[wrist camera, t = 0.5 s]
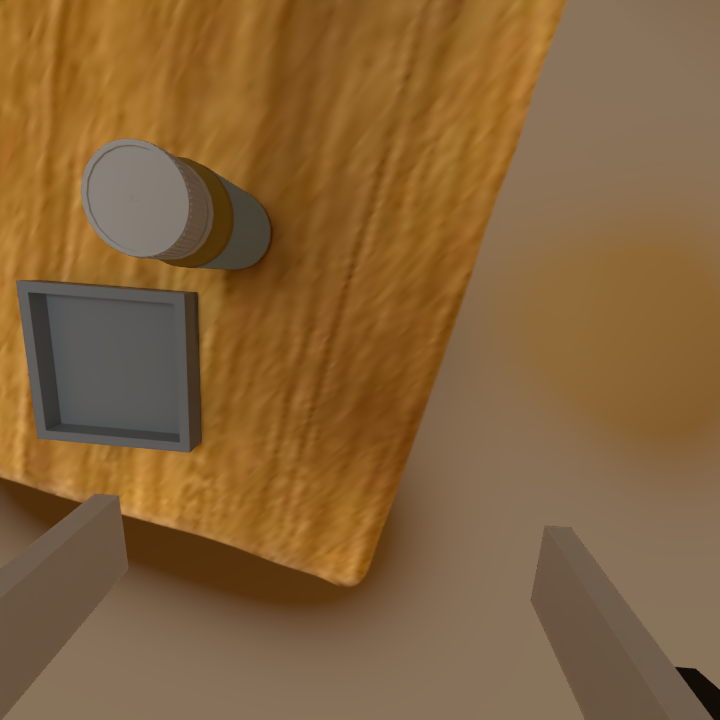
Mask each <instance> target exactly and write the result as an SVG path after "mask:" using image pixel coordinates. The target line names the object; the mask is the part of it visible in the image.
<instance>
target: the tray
mask: <svg viewBox="0 0 720 720" xmlns="http://www.w3.org/2000/svg"><path fill="white" fill-rule="evenodd" d="M16 284H17V291H18V298H19V306H20V313H21V320H22V327H23V335H24V342H25V349H26V357H27V364H28V371H29V379H30V386H31V393H32V401H33V408H34V415H35V423H36V430H37V437H38V439H48V440H59V441H70V442H81V443H92V444H102V445H113V446H124V447H135V448H146V449H157V450H168V451H179V452H191V451H192V450H193V449H194V448H195V447H196V446H197V445H198V444H199V443H200V442H201V413H200V376H199V339H198V303H197V292H185V291H172V290H159V289H146V288H133V287H121V286H108V285H95V284H82V283H69V282H56V281H44V280H20V281H16Z"/></svg>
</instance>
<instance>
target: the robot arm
mask: <svg viewBox="0 0 720 720" xmlns="http://www.w3.org/2000/svg"><path fill="white" fill-rule="evenodd" d="M127 570H128V562H127V555H126V547H125V539H124V532H123V525H122V517H121V509H120V502H119V496H118V495H104V494H94V495H93V496H92V497H90V498H89V499H88V500H87V501H85V502H84V503H83V504H82V505H80V506H79V507H78V508H76V509H75V510H74V511H73V512H72V513H70V514H69V515H68V516H66V517H65V518H64V519H63V520H61V521H60V522H59V523H58V524H56V525H55V526H54V527H52V528H51V529H50V530H49V531H47V532H46V533H45V534H44V535H42V536H41V537H40V538H39V539H37V540H36V541H35V542H34V543H32V544H31V545H30V546H28V547H27V548H26V549H25V550H23V551H22V552H21V553H20V554H18V555H17V556H16V557H14V558H13V559H12V560H11V561H9V562H8V563H7V564H6V565H4V566H3V567H2V568H1V569H0V720H2V719H3V718H4V717H5V715H6V714H7V713H8V712H9V711H10V709H11V708H12V707H13V706H14V705H15V703H16V702H17V701H18V700H19V699H20V697H21V696H22V695H23V694H24V693H25V691H26V690H27V689H28V688H29V687H30V685H31V684H32V683H33V682H34V681H35V680H36V678H37V677H38V676H39V675H40V673H41V672H42V671H43V670H44V669H45V668H46V666H47V665H48V664H49V663H50V662H51V660H52V659H53V658H54V657H55V656H56V654H57V653H58V652H59V651H60V650H61V648H62V647H63V646H64V645H65V644H66V642H67V641H68V640H69V639H70V638H71V637H72V635H73V634H74V633H75V632H76V631H77V629H78V628H79V627H80V626H81V625H82V623H83V622H84V621H85V620H86V619H87V617H88V616H89V614H91V613H92V611H93V610H94V609H95V608H96V607H97V606H98V604H99V603H100V602H101V601H102V599H103V598H104V597H105V596H106V595H107V594H108V592H109V591H110V590H111V589H112V587H113V586H114V585H115V584H116V583H117V582H118V580H119V579H120V578H121V577H122V576H123V574H124V573H125V572H126V571H127ZM531 602H532V604H533V607H534V609H535V611H536V613H537V615H538V617H539V620H540V622H541V624H542V626H543V628H544V631H545V633H546V635H547V637H548V640H549V642H550V643H551V646H552V648H553V650H554V653H555V655H556V657H557V659H558V661H559V664H560V666H561V668H562V670H563V672H564V675H565V677H566V679H567V681H568V683H569V685H570V688H571V690H572V692H573V694H574V696H575V698H576V701H577V703H578V705H579V707H580V710H581V712H582V714H583V716H584V718H585V720H720V690H719V689H718V688H717V687H716V686H715V685H714V684H713V683H711V682H710V681H709V680H708V679H707V678H706V677H704V676H703V675H702V674H701V673H700V672H699V671H697V669H693V668H681V667H674V666H673V664H672V663H671V662H670V660H669V659H668V658H667V656H666V655H665V654H664V652H663V651H662V650H661V648H660V647H659V645H658V644H657V643H656V641H655V640H654V639H653V637H652V636H651V635H650V633H649V632H648V631H647V629H646V628H645V627H644V625H643V624H642V623H641V621H640V620H639V619H638V617H637V616H636V614H635V613H634V612H633V610H632V609H631V608H630V606H629V605H628V604H627V602H626V601H625V600H624V598H623V597H622V596H621V594H620V593H619V592H618V590H617V589H616V587H615V586H614V585H613V583H612V582H611V581H610V579H609V578H608V577H607V575H606V574H605V573H604V571H603V570H602V569H601V567H600V566H599V564H598V563H597V562H596V560H595V559H594V558H593V556H592V555H591V554H590V553H589V551H588V550H587V548H586V547H585V546H584V544H583V543H582V542H581V540H580V539H579V538H578V536H577V535H576V534H575V532H574V531H573V529H572V528H571V527H556V526H545V528H544V533H543V538H542V544H541V549H540V554H539V560H538V564H537V570H536V575H535V580H534V585H533V590H532V596H531Z"/></svg>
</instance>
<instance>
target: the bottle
mask: <svg viewBox="0 0 720 720" xmlns="http://www.w3.org/2000/svg"><path fill="white" fill-rule="evenodd" d="M81 196H82V203H83V207H84V211H85V213H86V216H87V218H88V220H89V222H90V224H91V226H92V227H93V229H94V230H95V232H96V233H97V234H98V235H99V236H100V238H101V239H102V240H103V241H105V242H106V243H107V244H108V245H110V246H111V247H112V248H114V249H116V250H118V251H120V252H122V253H124V254H128V255H129V256H134V257H138V258H148V259H159V260H161V261H163V262H165V263H167V264H170V265H173V266H179V267H188V268H209V269H233V270H237V269H244V268H248V267H251V266H253V265H254V264H256V263H257V262H259V261H260V260H261V259H262V257H263V256H264V255H265V254H266V252H267V250H268V248H269V245H270V242H271V224H270V220H269V217H268V214H267V213H266V211H265V209H264V208H263V206H262V205H261V204H260V203H259V202H258V201H257V200H256V199H255V198H254V197H252V196H251V195H250V194H248V193H246V192H245V191H243V190H242V189H240V188H238V187H237V186H235V185H234V184H232V183H231V182H229V181H227V180H226V179H224V178H223V177H221V176H219V175H218V174H216V173H215V172H213V171H211V170H210V169H208V168H207V167H205V166H203V165H201V164H199V163H197V162H195V161H192V160H190V159H187V158H182V157H175V156H173V155H172V154H170V153H168V152H166V151H165V150H163V149H161V148H160V147H158V146H156V145H154V144H152V143H149V142H147V141H142V140H136V139H120V140H116V141H112V142H110V143H108V144H106V145H104V146H103V147H101V148H100V149H99V150H98V151H96V152H95V153H94V155H93V156H92V157H91V159H90V160H89V162H88V164H87V166H86V168H85V170H84V174H83V178H82V184H81Z"/></svg>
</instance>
